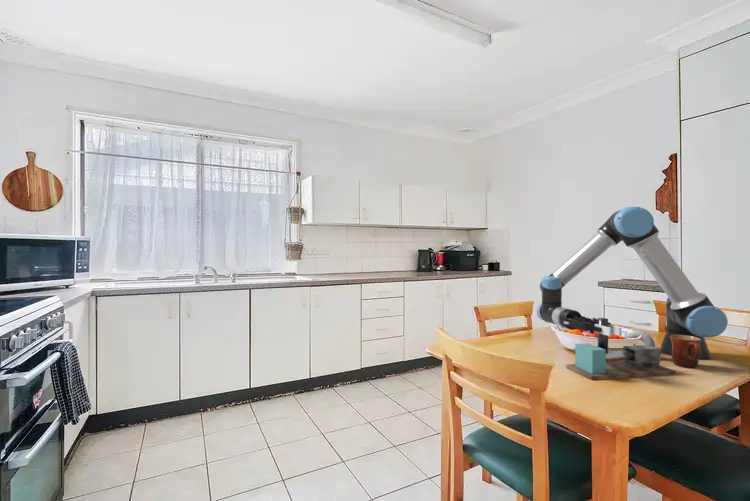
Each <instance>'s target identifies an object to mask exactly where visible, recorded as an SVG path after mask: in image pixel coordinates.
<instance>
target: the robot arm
mask: <svg viewBox="0 0 750 501" xmlns="http://www.w3.org/2000/svg"><path fill="white" fill-rule="evenodd" d="M659 234H660V230H659V229H658V227H656V225H655V219H654V217H653V214H651V212H650V211H649V210H648V209H646V208H644V207H640V206H628V207H625V208H622V209H620V210H617V211H615V212H613V214H611V215H610V216H609V218H607V220H606V221H605V222H604V223H603V224H602V225H601V226H600V227H599V228H598V229H597V230H596V234H594V235H593V236H592V237H591V238H590V239H589V240H588V241H587V242H585V243H584V244H583V245H582V246H581V247H579V249H578V250H576V252H574V253H573V254H572V255H570V256H569V257H568V258H567V259H566V260H565V261H564V262H563V263H561V265H560V266H558V267H557V268H556V269H554V271H553V272H552V273H550V274H549V275H548V276H546V275H544V276H543V277H542V279H541V282H540V284H539V289H540V291H541V304H539V305H538V307H537V309H536V315H537V317H538V318H539V319H540V320H542V321H543V322H545V323H549V324H553V325H556V326H559V327H561V329H563V328H565V329H568V330H572V331H574V330H579V331H584V332H588V331H589V333H590V334H593V335H594V334H595V333H597V334H598V333H600V334H603V335H607V336H608V337H612V335H615V336H618V337H619V336H620V337H622V327H620V326H617V325H614V324H612V323H611V322H609V321H608V327H606V326H602V325H598V318H595V317H592V318H590V317H586V316H584V315H581V313H580V312H579V311H578V310H574V309H570V308H567V307H563V306H562V304H563V303H562V302H563V301H562V295H563V294H562V293H563V292H562V291H563V288H564V287H565V286H566V285H567V284H568V283H570V282H571V281H572V280H573V279H575V277H576V276H578V275H579V274H580V273H581V272H582V271H583V270H585V269H587V267H588V266H589V265H590V264H592V263H593V262H594V261H595V260H597V259H598V258H599V257H600V256H602V255H603V254H604V253H605V252H606V251H607V250H608V249H609V248H611V247H613V246H614V247H615V246H617V245H618V244H620V243H621V242H623V244H624V245H625V246H626V247H628V248H631V249H633V250H634V251H635V253H636V254H637V256H638V257H639V258H640V259H641V261H642V262H643V264H644V265H645V267H646V268H647V269H648V270H649V272H650V273H651V275H652V277H653V278H654V279H655V280H656V282H657V283H658V285H659V286H660V287H661V289H662V291H663V292H664V293H665V294H666V296H667V298H666V303H665V307H666V308H665V310H666V312H665V313H666V314H665V316H666V318H665V320H666V322H665V323H666V324H665V326H666V328H665V330H666V331H665V335H664V336H663V337H664V338H663V340H662V343H661V344H660V348H661V353H664V354H667V355H670V356H672V341H671V338H670V335H687V336H693V337H697V338H700V339H701V342H700V344H699V345H700V346H701V356H700V358H699V360H705V359H709V358H710V357H711V352H710V350H709V347H708V345H707V344H708V343H707V342H706V339H707V338H714V337H718V336H719V335H721V334H723V333H724V332H725V331H726V329H727V327H728V317H727V315H726V313H725V312H724V311H723V310H721V309H720V308H719V307H716V306H715V305H714V304H713V303H712V301H711V300H710V299H709V297H708V296H707V295H706V293H704V292H703V293H701V292H699V291H698V290H697V289H696V288H695V286H694V285H693V284H692V282H691V280H690V279H689V278H688V277H687V275H686V274H685V272H684V271H683V270H682V269H681V267H680V266H679V265H678V262H676V260H675V259H674V258H673V256H672V255H671V254H670V252H669V251H668V249H667V248H666V247H665V245H664V244H663V243H662V241H661V240H660V238H659ZM705 338H706V339H705Z"/></svg>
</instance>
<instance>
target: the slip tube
mask: <svg viewBox="0 0 750 501" xmlns="http://www.w3.org/2000/svg"><path fill="white" fill-rule="evenodd" d="M597 319H598V325H602V326H606V327H608V322H609V318H605V317H598V318H597ZM597 347H600V348H602V349H605V350H606V362H609V361H625V360H627V359H634V351H633V350H626V351H624V350H610V351H609V336H607V335H603V334H600V333H597Z"/></svg>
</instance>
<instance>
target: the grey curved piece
mask: <svg viewBox="0 0 750 501" xmlns="http://www.w3.org/2000/svg"><path fill="white" fill-rule="evenodd" d="M640 335H641V338H640V339H638V340H640V341H642V343H643V345H650V346H654V347H656V345H655V344H656V343H655V341H654V338H653V337H652V336H651V335H650V334H648V333H646V332H645V331H641V330H632V331H631V332H629V333H627V335H626V336H625V337H624V339H625V338H630V339H631V338H637V337H639V336H640ZM633 346H637V345H636V343H635V344H634V345H633Z"/></svg>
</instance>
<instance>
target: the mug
mask: <svg viewBox="0 0 750 501" xmlns="http://www.w3.org/2000/svg"><path fill="white" fill-rule="evenodd" d="M670 338H671V341H672V355H671V358H672V359H671V360H672V363H673V364H674V365H675V366H678V367H682V368H687V369H694V368H697V367H698V366H699V362H700V359H699V358H700V356H701V346H700V345H699V344H700V342H701V339H700V338H697V337H693V336H687V335H670Z"/></svg>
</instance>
